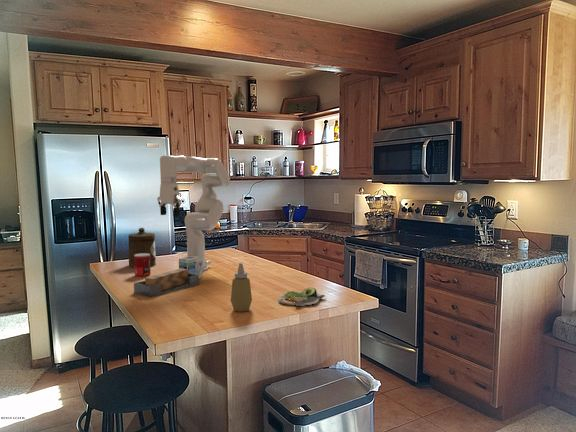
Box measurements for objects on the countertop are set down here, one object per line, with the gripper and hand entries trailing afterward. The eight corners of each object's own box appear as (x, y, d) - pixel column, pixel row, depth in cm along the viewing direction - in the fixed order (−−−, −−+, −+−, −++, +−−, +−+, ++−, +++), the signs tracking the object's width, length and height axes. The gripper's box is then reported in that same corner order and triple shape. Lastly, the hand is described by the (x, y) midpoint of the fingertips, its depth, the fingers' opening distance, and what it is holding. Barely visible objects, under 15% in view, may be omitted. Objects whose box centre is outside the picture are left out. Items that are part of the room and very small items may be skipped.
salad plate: (316, 311, 162) (316, 299, 162) (271, 307, 167) (271, 295, 167) (326, 297, 180) (326, 287, 180) (286, 294, 186) (286, 284, 185)
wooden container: (159, 265, 247) (158, 228, 245) (132, 268, 238) (131, 229, 236) (151, 261, 259) (150, 225, 257) (126, 264, 250) (124, 227, 249)
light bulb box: (188, 281, 209) (187, 259, 208) (178, 279, 212) (177, 258, 211) (203, 277, 218) (203, 256, 217) (193, 275, 221) (193, 255, 220)
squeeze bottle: (231, 307, 166) (230, 261, 165) (252, 306, 167) (251, 261, 166) (230, 313, 158) (229, 265, 157) (252, 312, 159) (251, 265, 158)
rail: (180, 280, 206) (180, 268, 205) (188, 281, 203) (187, 269, 203) (145, 291, 186) (145, 277, 186) (153, 292, 184) (152, 278, 184)
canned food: (145, 277, 218) (145, 256, 217) (131, 276, 219) (131, 255, 218) (153, 274, 225) (152, 253, 224) (139, 273, 227) (139, 252, 226)
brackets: (182, 281, 209) (182, 272, 209) (199, 284, 202) (198, 275, 202) (133, 293, 187) (133, 282, 187) (150, 297, 180) (150, 286, 180)
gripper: (186, 180, 208) (187, 215, 210) (163, 180, 218) (164, 213, 220) (174, 181, 202) (175, 217, 204) (151, 180, 212) (152, 215, 214)
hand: (169, 215), depth 212 cm, fingers open, 9 cm apart
